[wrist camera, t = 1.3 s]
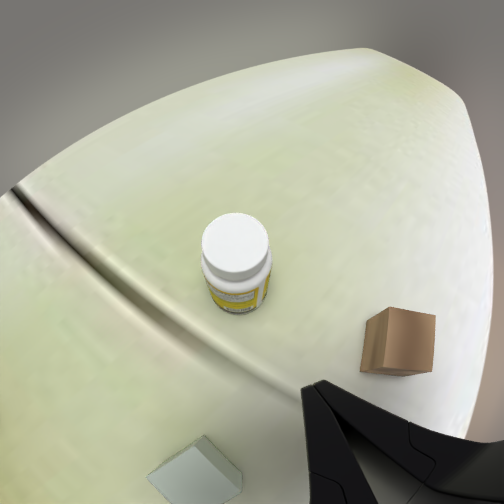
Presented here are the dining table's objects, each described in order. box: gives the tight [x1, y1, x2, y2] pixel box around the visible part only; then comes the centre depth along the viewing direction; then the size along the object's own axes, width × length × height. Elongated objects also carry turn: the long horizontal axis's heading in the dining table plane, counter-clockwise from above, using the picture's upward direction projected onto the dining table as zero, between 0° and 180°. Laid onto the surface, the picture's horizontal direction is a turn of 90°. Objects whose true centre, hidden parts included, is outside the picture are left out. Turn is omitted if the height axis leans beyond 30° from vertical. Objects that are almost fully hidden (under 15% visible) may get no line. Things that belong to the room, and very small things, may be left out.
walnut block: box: [360, 307, 436, 376], centre depth 20 cm, size 4×4×4 cm
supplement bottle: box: [201, 213, 272, 315], centre depth 20 cm, size 5×5×8 cm
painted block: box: [146, 435, 242, 504], centre depth 15 cm, size 4×4×4 cm
